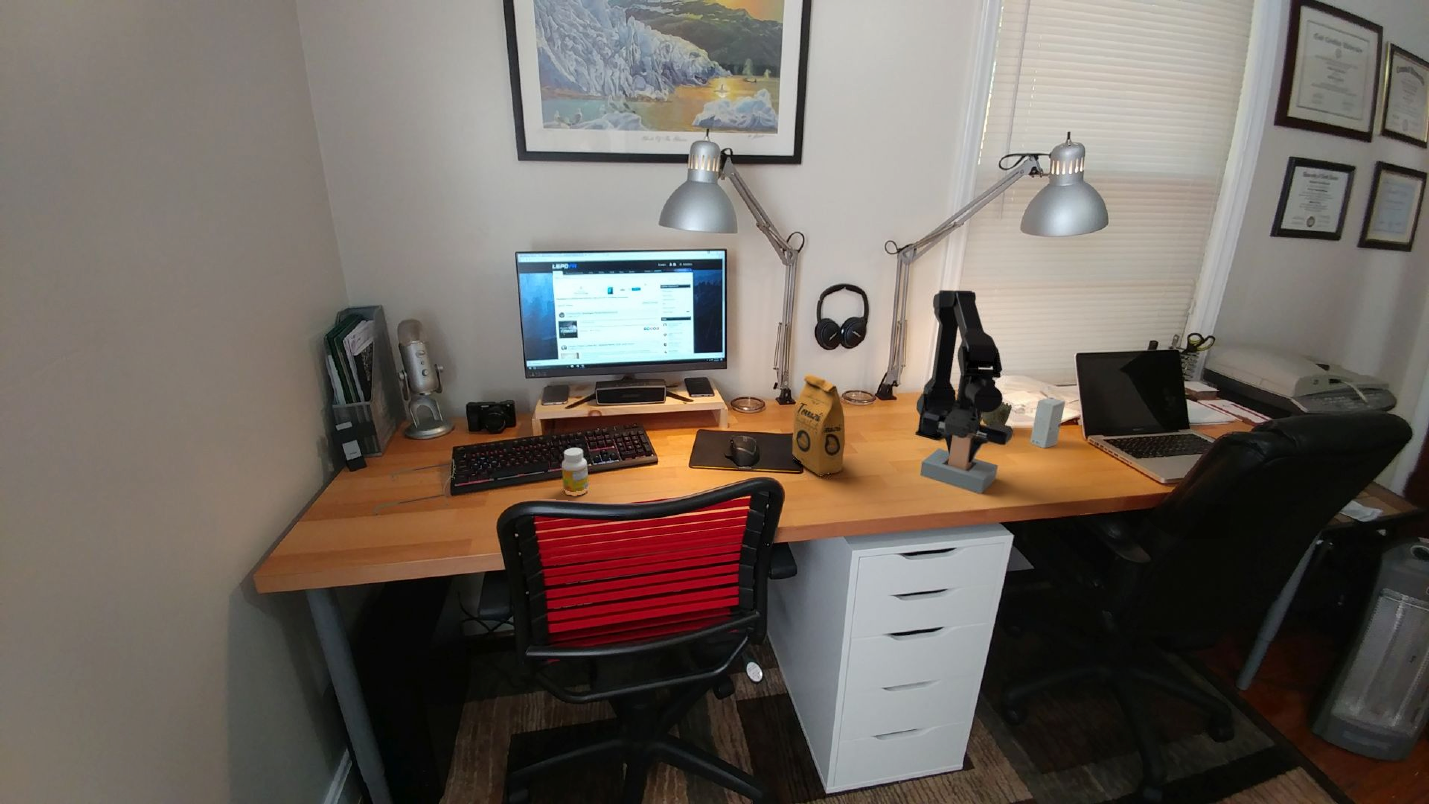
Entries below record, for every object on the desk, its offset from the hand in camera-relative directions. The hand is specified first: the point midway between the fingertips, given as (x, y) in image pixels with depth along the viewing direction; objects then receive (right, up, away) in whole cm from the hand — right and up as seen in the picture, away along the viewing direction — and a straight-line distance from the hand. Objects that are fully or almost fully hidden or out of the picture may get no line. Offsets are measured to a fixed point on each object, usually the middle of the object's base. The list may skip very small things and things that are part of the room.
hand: (960, 459), depth 139 cm
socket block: (0, -4, +2) cm, 4 cm away
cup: (+21, +5, +28) cm, 35 cm away
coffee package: (-32, -2, +7) cm, 33 cm away
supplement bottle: (-88, -7, -7) cm, 89 cm away
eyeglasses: (-122, -7, -7) cm, 122 cm away
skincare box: (+30, +2, +20) cm, 37 cm away
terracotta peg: (0, -2, +1) cm, 2 cm away
